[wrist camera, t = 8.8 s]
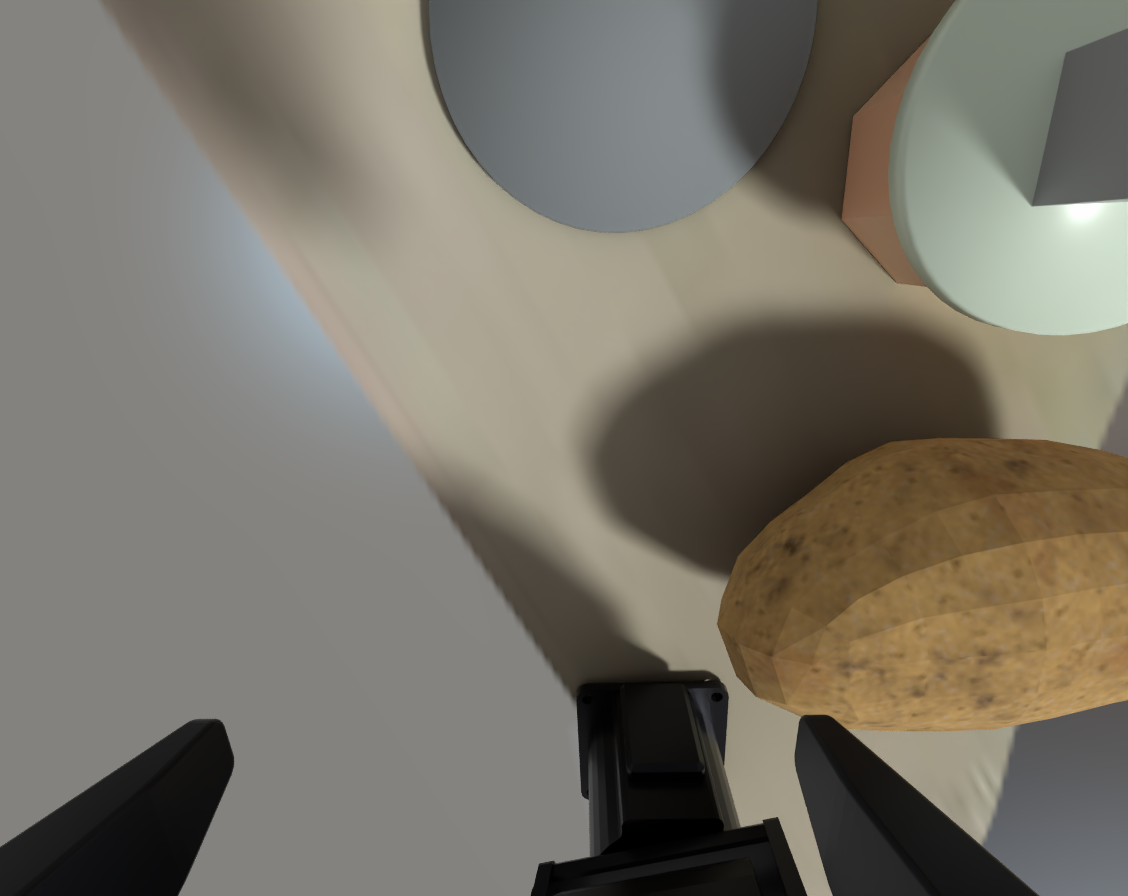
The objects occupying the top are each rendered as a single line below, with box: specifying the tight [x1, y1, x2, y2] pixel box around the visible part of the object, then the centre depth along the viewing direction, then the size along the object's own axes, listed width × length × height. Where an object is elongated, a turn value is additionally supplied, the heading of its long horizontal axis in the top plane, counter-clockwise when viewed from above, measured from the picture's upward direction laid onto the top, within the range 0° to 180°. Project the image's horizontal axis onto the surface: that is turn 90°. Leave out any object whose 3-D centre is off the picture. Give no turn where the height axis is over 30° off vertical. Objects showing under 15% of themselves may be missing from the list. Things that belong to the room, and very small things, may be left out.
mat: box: [429, 0, 817, 233], centre depth 16 cm, size 11×11×1 cm
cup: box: [842, 34, 932, 287], centre depth 15 cm, size 7×7×4 cm
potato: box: [717, 438, 1128, 731], centre depth 18 cm, size 10×14×8 cm
